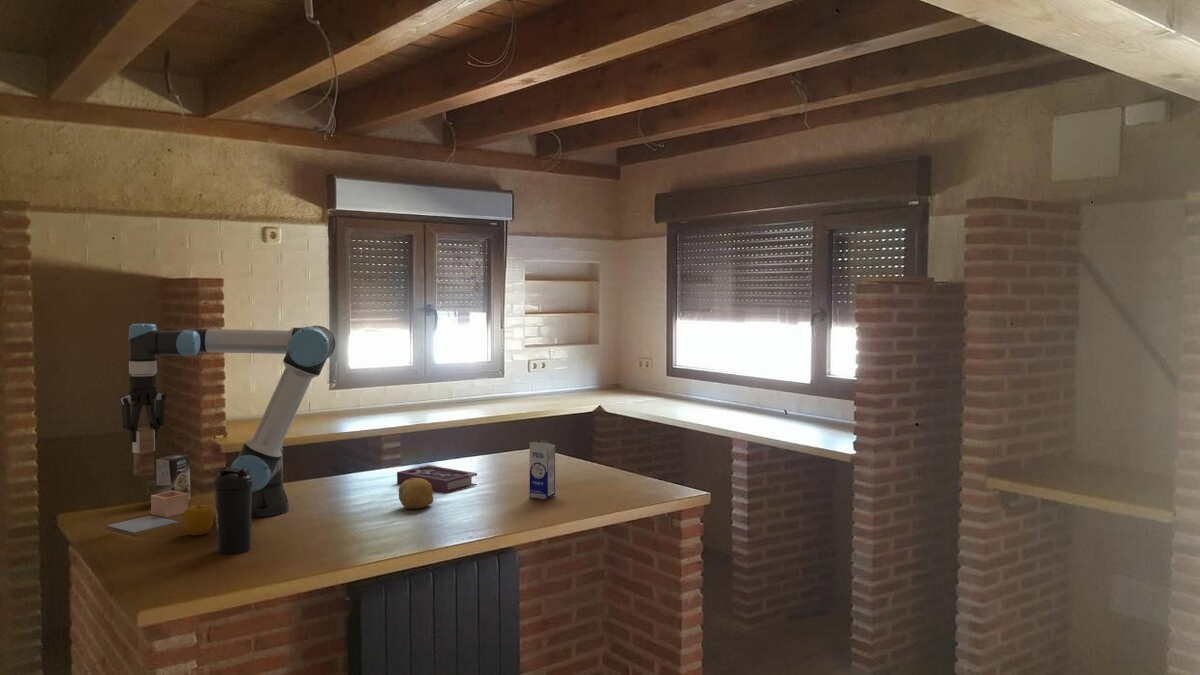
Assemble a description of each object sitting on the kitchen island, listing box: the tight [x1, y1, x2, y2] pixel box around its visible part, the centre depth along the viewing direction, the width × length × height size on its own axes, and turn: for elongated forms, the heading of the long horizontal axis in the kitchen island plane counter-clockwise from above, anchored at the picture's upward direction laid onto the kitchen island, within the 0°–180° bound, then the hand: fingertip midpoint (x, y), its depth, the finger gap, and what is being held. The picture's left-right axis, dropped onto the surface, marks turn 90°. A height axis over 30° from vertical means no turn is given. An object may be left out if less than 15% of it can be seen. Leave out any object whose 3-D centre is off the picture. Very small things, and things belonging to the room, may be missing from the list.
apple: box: [181, 504, 215, 537], centre depth 258 cm, size 8×8×9 cm
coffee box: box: [155, 454, 191, 500], centre depth 293 cm, size 9×6×16 cm
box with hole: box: [150, 491, 189, 519], centre depth 278 cm, size 8×8×7 cm
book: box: [396, 464, 478, 494], centre depth 326 cm, size 25×16×5 cm, turn 56°
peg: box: [133, 427, 155, 477], centre depth 266 cm, size 4×4×14 cm
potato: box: [398, 478, 434, 510], centre depth 292 cm, size 10×12×10 cm
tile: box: [106, 514, 179, 537], centre depth 266 cm, size 14×14×1 cm
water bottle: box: [212, 466, 253, 556], centre depth 243 cm, size 10×10×23 cm
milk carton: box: [529, 439, 556, 500], centre depth 308 cm, size 7×7×20 cm
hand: (143, 451), depth 266 cm, fingers closed on peg, 4 cm apart
